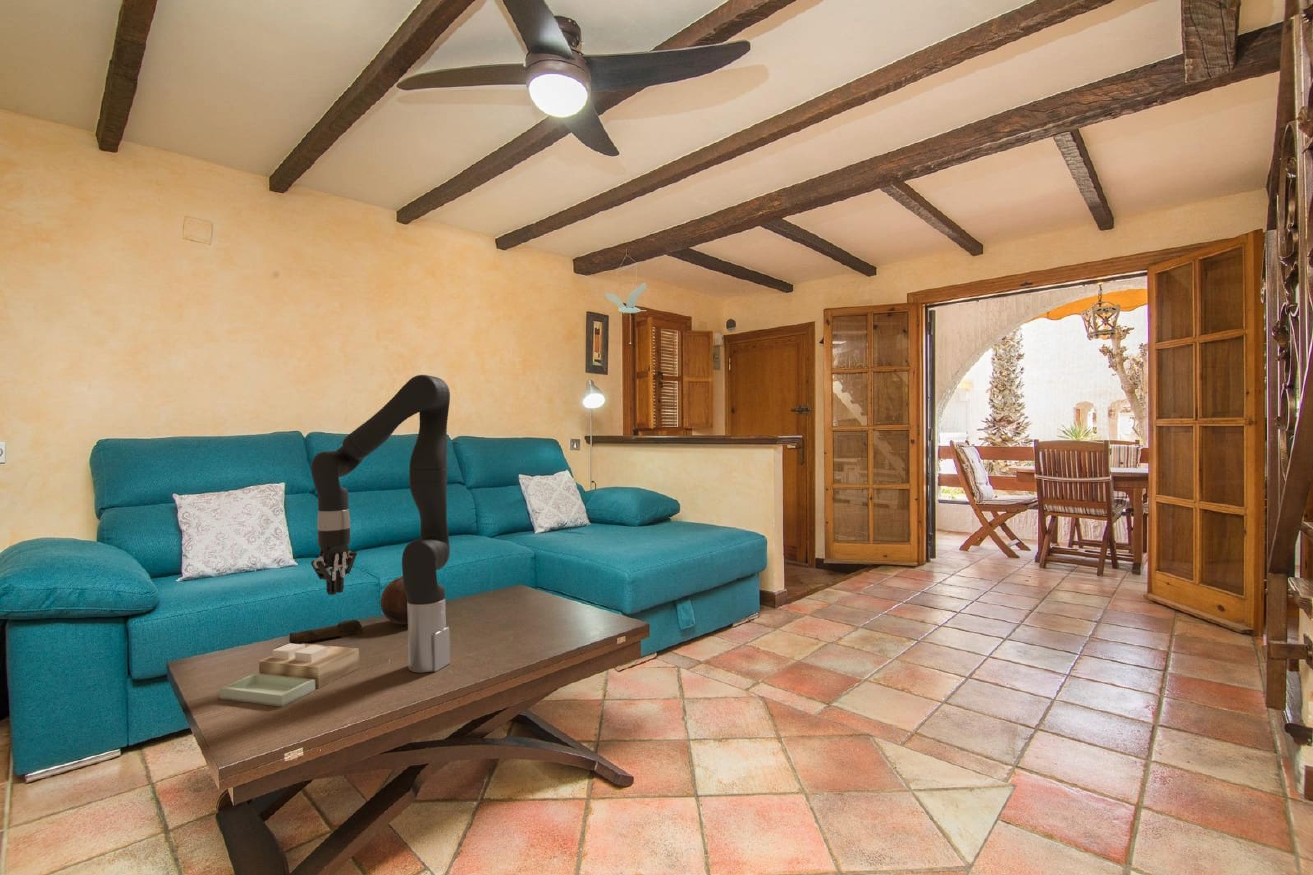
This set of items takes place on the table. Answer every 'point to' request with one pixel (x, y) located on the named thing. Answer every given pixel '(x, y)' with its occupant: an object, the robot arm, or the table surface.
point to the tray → (267, 689)
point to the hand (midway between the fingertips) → (335, 593)
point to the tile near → (311, 653)
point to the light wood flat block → (315, 665)
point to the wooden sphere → (395, 602)
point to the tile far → (287, 651)
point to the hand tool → (327, 632)
